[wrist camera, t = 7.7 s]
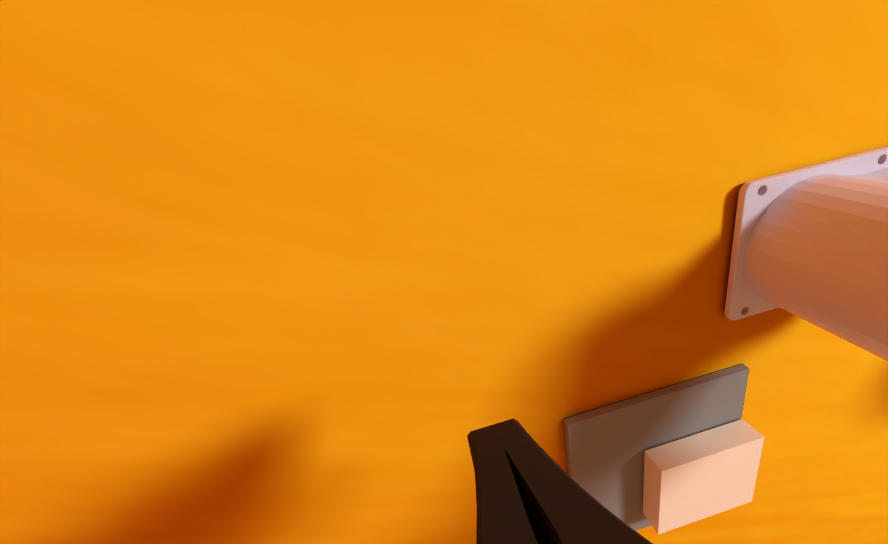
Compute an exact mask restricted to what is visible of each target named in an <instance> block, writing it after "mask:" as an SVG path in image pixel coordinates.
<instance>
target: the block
mask: <svg viewBox="0 0 888 544" xmlns="http://www.w3.org/2000/svg"><path fill="white" fill-rule="evenodd" d="M763 441H764V436H762V435H761V434H760V433H759V432H758V431H756V430H755V429H754V428H753V427H752V426H750V425H749V424H748V423H747V422H745V421H744V420H743V419H741V420H737V421H734V422H731V423H728V424H725V425H722V426H719V427H716V428H713V429H710V430H707V431H704V432H701V433H698V434H695V435H692V436H689V437H685V438H682V439H679V440H676V441H673V442H670V443H667V444H664V445H661V446H658V447H655V448H652V449H649V450H646V451H645V455H644V489H643V513H644V515H645V516H646V518H647V519H648V521H649V522H650V523H651V525H652V526H653V528H654V529H655V531H656V532H657V533H658V534H661V533H664V532H666V531H669V530H672V529H675V528H678V527H681V526H683V525H686V524H689V523H692V522H695V521H698V520H700V519H703V518H706V517H709V516H712V515H715V514H717V513H720V512H723V511H726V510H729V509H732V508H734V507H737V506H740V505H743V504H746V503H749V502H751V501H752V498H753V493H754V488H755V482H756V477H757V472H758V467H759V462H760V457H761V452H762V447H763Z"/></svg>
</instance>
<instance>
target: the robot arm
mask: <svg viewBox="0 0 888 544" xmlns="http://www.w3.org/2000/svg"><path fill="white" fill-rule="evenodd" d="M759 188H760V189H759ZM758 190H759V191H758ZM779 307H780V308H782V309H784V310H786V311H788V312H790V313H792V314H794V315H796V316H798V317H800V318H802V319H804V320H806V321H808V322H810V323H812V324H814V325H816V326H818V327H820V328H822V329H824V330H826V331H828V332H830V333H832V334H834V335H836V336H838V337H840V338H842V339H844V340H846V341H848V342H850V343H852V344H854V345H856V346H858V347H860V348H862V349H864V350H866V351H868V352H870V353H872V354H874V355H876V356H878V357H880V358H882V359H884V360H886V361H888V146H886V147H882V148H878V149H874V150H870V151H866V152H862V153H859V154H855V155H851V156H847V157H843V158H839V159H835V160H831V161H827V162H823V163H819V164H815V165H811V166H807V167H803V168H800V169H796V170H792V171H788V172H784V173H780V174H776V175H772V176H768V177H764V178H760V179H756V180H752V181H749V182H746V183H745V184H744V185H743V186H742V187H741V188H740V191H739V195H738V204H737V212H736V220H735V229H734V237H733V246H732V254H731V262H730V271H729V279H728V288H727V296H726V304H725V316H726V318H728V319H730V320H732V321H735V320H739V319H742V318H745V317H749V316H752V315H756V314H759V313H762V312H766V311H769V310H772V309H776V308H779ZM467 437H468V442H469V447H470V451H471V456H472V460H473V465H474V470H475V480H476V500H477V541H476V544H653V543H651V542H650V541H648V540H647V539H646V538H644V537H643V536H641V535H640V534H639V533H637V532H636V531H635V530H633V529H632V528H631V527H629V526H628V525H627V524H625V523H624V522H623V521H622V520H620V519H619V518H618V517H616V516H615V515H614V514H613V513H612V512H610V511H609V510H608V509H607V508H605V507H604V506H603V505H602V504H601V503H599V502H598V501H597V500H596V499H595V498H594V497H592V496H591V495H590V494H589V493H588V492H587V491H585V490H584V489H583V488H582V487H581V486H580V485H579V484H578V483H577V482H575V481H574V480H573V479H572V478H571V477H570V476H569V475H568V474H567V473H566V472H565V471H564V470H563V469H562V468H561V467H560V466H559V465H558V464H556V463H555V462H554V461H553V460H552V459H551V458H550V457H549V456H548V454H547V453H546V452H545V451H544V450H543V449H542V448H541V447H540V446H539V445H538V444H537V443H536V442H535V441H534V440H533V439H532V437H531V436H530V435H529V434H528V433H527V432H526V430H525V429H524V428H523V427H522V426H521V424H520V423H519V422H518V421H517V420H515V419H510V420H507V421H504V422H501V423H497V424H494V425H491V426H487V427H484V428H481V429H478V430H474V431H471V432H470V433H469V434H468V436H467Z"/></svg>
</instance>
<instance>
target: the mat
mask: <svg viewBox="0 0 888 544" xmlns="http://www.w3.org/2000/svg"><path fill="white" fill-rule="evenodd" d="M748 373H749V368H748V367H746V366H745V365H744V364H740V365H737V366H733V367H730V368H727V369H724V370H720V371H717V372H714V373H711V374H707V375H704V376H701V377H698V378H695V379H691V380H688V381H685V382H682V383H678V384H675V385H672V386H669V387H665V388H662V389H659V390H656V391H653V392H649V393H646V394H643V395H640V396H636V397H633V398H630V399H627V400H623V401H620V402H617V403H614V404H611V405H607V406H604V407H601V408H598V409H594V410H591V411H588V412H585V413H582V414H578V415H575V416H572V417H569V418H565V419H564V429H565V442H566V454H567V466H568V475H569V476H570V477H571V478H572V479H573V480H574V481H575V482H577V483H578V484H579V485H580V486H581V487H582V488H583V489H584V490H585V491H587V492H588V493H589V494H590V495H591V496H592V497H594V498H595V499H596V500H597V501H598V502H599V503H601V504H602V505H603V506H604V507H605V508H607V509H608V510H609V511H610V512H612V513H613V514H614V515H615V516H616V517H618V518H619V519H620V520H622V521H623V522H624V523H625V524H627V525H628V526H629V527H631V528H632V529H633V530H635V531H636V530H639V529H642V528H644V527H647V526H650V525H651V523H650V522H649V521H648V519H647V518H646V516H645V515H644V513H643V489H644V455H645V451H646V450H649V449H652V448H655V447H658V446H661V445H664V444H667V443H670V442H673V441H676V440H679V439H682V438H685V437H689V436H692V435H695V434H698V433H701V432H704V431H707V430H710V429H713V428H716V427H719V426H722V425H725V424H728V423H731V422H734V421H737V420H741V417H742V411H743V405H744V398H745V392H746V386H747V379H748Z"/></svg>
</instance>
